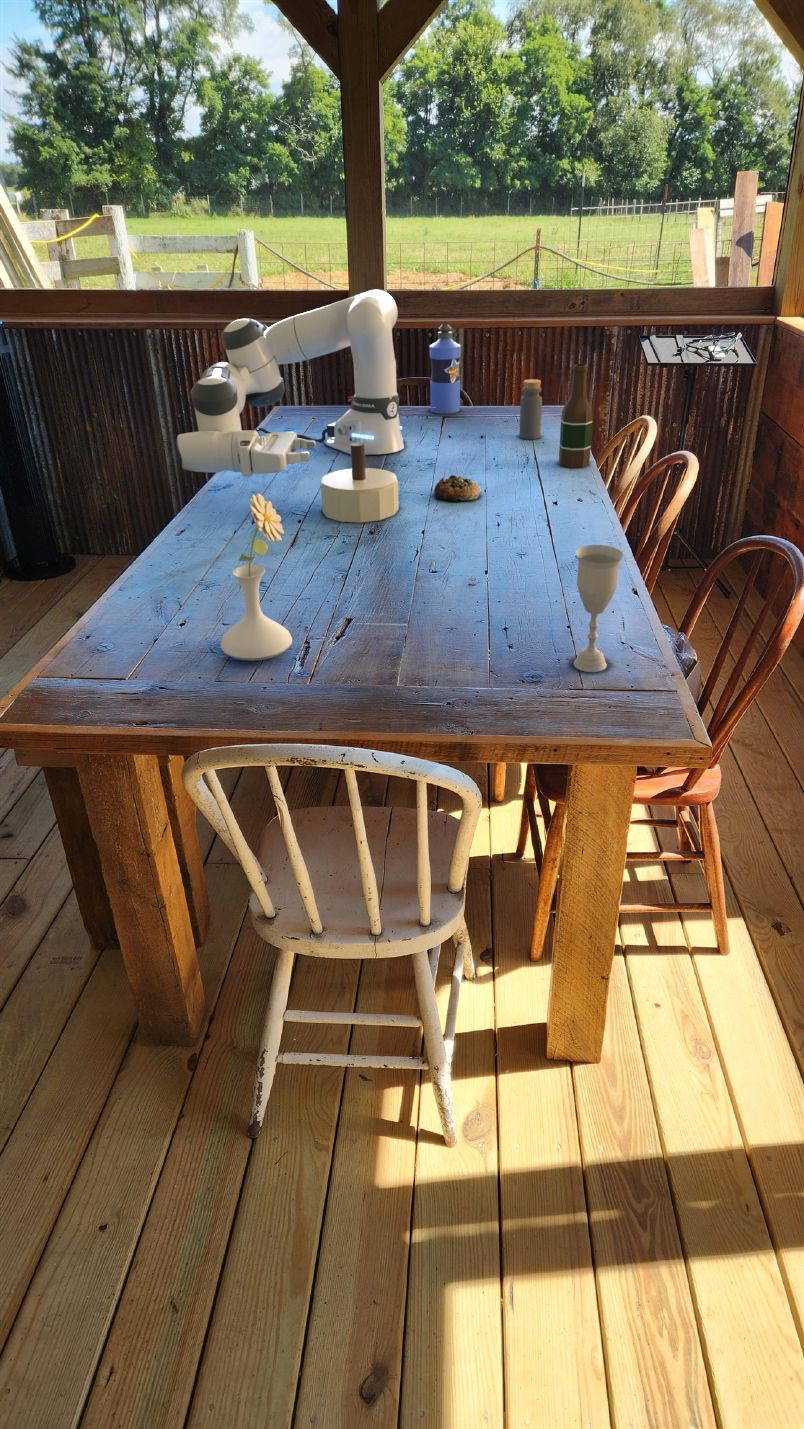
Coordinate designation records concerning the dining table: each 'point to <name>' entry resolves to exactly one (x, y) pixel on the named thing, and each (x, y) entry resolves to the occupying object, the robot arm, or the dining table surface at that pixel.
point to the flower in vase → (256, 597)
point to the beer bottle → (576, 423)
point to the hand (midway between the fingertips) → (312, 450)
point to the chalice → (596, 595)
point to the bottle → (530, 410)
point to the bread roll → (456, 489)
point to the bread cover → (359, 491)
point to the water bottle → (445, 373)
